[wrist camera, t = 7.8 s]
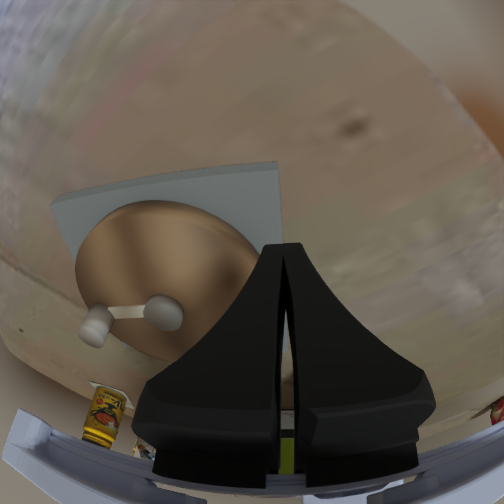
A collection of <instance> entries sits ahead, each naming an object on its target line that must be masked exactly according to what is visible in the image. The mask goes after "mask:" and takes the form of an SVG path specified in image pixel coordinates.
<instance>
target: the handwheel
mask: <svg viewBox="0 0 504 504" xmlns="http://www.w3.org/2000/svg"><path fill="white" fill-rule="evenodd" d="M259 256H260V254H259V253H258V252H257V250H256V249H255V247H254V246H253V245H252V244H251V243H250V242H249V241H248V240H247V239H246V238H245V236H244V235H243V234H241V233H240V232H239V231H238V230H236V229H235V228H234V227H233V226H231V225H230V224H228V223H227V222H225V221H224V220H222V219H220V218H219V217H217V216H215V215H213V214H211V213H209V212H207V211H205V210H203V209H200V208H197V207H194V206H191V205H188V204H184V203H179V202H174V201H165V200H145V201H138V202H133V203H129V204H126V205H124V206H121V207H119V208H117V209H115V210H113V211H112V212H110V213H108V214H107V215H106V216H105V217H104V218H103V219H102V220H100V222H99V223H98V224H97V225H96V226H95V227H94V228H93V229H92V231H91V232H90V233H89V234H88V235H87V236H86V238H85V239H84V241H83V242H82V244H81V246H80V248H79V250H78V253H77V257H76V263H75V274H76V281H77V285H78V288H79V291H80V293H81V296H82V298H83V300H84V302H85V304H86V305H87V307H88V308H89V312H88V313H87V315H86V317H85V319H84V321H83V322H82V324H81V326H80V328H79V330H78V336H79V337H80V339H81V340H82V341H84V342H85V343H86V344H88V345H90V346H92V347H94V348H101V347H102V346H103V344H104V342H105V340H106V337H107V335H108V333H109V332H110V333H111V334H113V335H114V336H115V337H117V338H118V339H119V340H121V341H122V342H124V343H125V344H127V345H129V346H130V347H132V348H134V349H136V350H138V351H140V352H142V353H145V354H147V355H149V356H152V357H155V358H158V359H161V360H165V361H168V362H173V363H174V362H175V361H176V360H178V359H179V358H180V357H181V356H182V355H183V354H185V353H186V352H187V351H188V350H189V349H190V348H191V347H193V346H194V345H195V344H196V343H197V342H198V341H199V340H200V339H201V338H202V337H203V336H204V335H205V334H206V333H207V332H208V331H209V330H210V329H211V328H212V327H213V326H214V325H215V324H216V322H217V321H218V320H219V319H220V318H221V317H222V315H223V314H224V313H225V312H226V311H227V309H228V308H229V307H230V305H231V304H232V303H233V301H234V300H235V298H236V297H237V295H238V294H239V292H240V291H241V289H242V288H243V286H244V285H245V283H246V281H247V280H248V278H249V276H250V274H251V273H252V271H253V269H254V267H255V265H256V263H257V261H258V259H259Z"/></svg>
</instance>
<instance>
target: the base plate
mask: <svg viewBox="0 0 504 504" xmlns="http://www.w3.org/2000/svg"><path fill="white" fill-rule="evenodd" d="M145 200H165V201H174V202H179V203H184V204H188V205H191V206H194V207H197V208H200V209H203V210H205V211H207V212H209V213H211V214H213V215H215V216H217V217H219V218H220V219H222V220H224V221H225V222H227V223H228V224H230V225H231V226H233V227H234V228H235V229H236V230H238V231H239V232H240V233H241V234H243V235H244V236H245V238H246V239H247V240H248V241H249V242H250V243H251V244H252V245H253V246H254V247H255V249H256V250H257V252H258V253H259V254H261V251H262V248H263V247H264V246H265V245H266V244H282V243H283V230H282V214H281V200H280V186H279V173H278V161H276V162H262V163H250V164H239V165H229V166H219V167H211V168H202V169H195V170H187V171H180V172H173V173H167V174H160V175H154V176H148V177H143V178H137V179H132V180H126V181H121V182H116V183H111V184H106V185H102V186H97V187H92V188H88V189H84V190H79V191H75V192H71V193H67V194H63V195H60V196H59V197H58V198H56V199H55V200H54V201H53V202H52V203H50V204H49V206H50V208H51V211H52V213H53V215H54V218H55V220H56V223H57V225H58V227H59V230H60V232H61V234H62V236H63V239H64V241H65V243H66V245H67V247H68V249H69V251H70V254H71V256H72V258H73V260H74V262H75V263H76V257H77V253H78V250H79V248H80V246H81V244H82V242H83V241H84V239H85V238H86V236H87V235H88V234H89V233H90V232H91V231H92V229H93V228H94V227H95V226H96V225H97V224H98V223H99V222H100V220H102V219H103V218H104V217H105V216H106V215H107V214H108V213H110V212H112V211H113V210H115V209H117V208H119V207H121V206H124V205H126V204H129V203H133V202H138V201H145ZM121 342H122V341H121ZM122 343H123V345H124V346H125V347H127V348H132V347H130V346H129V345H127V344H125V343H124V342H122ZM283 352H288V338H287V315H286V313H285V326H284V338H283V350H282V353H283Z"/></svg>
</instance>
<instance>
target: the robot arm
mask: <svg viewBox="0 0 504 504" xmlns="http://www.w3.org/2000/svg"><path fill="white" fill-rule="evenodd" d="M285 313H286V315H287V322H288V330H289V337H290V345H291V352H292V360H293V378H294V474H279V469H280V468H281V362H282V350H283V338H284V326H285ZM435 408H436V401H435V398H434V394H433V391H432V388H431V386H430V383H429V381H428V379H427V377H426V374H425V372H424V371H423V370H422V369H420V368H419V367H417V366H416V365H414V364H413V363H411V362H409V361H408V360H406V359H405V358H403V357H402V356H400V355H399V354H397V353H396V352H394V351H393V350H392V349H390V348H389V347H388V346H386V345H385V344H384V343H383V342H381V341H380V340H379V339H378V338H377V337H376V336H375V335H373V334H372V333H371V332H370V331H369V330H368V329H366V328H365V327H364V326H363V325H362V324H361V323H360V322H359V321H358V320H357V319H356V318H355V317H354V316H353V315H352V314H351V313H350V312H349V311H348V310H347V309H346V308H345V307H344V306H343V304H342V303H341V302H340V301H339V300H338V299H337V297H336V296H335V295H334V294H333V293H332V291H331V290H330V289H329V287H328V286H327V285H326V283H325V282H324V281H323V279H322V278H321V276H320V275H319V273H318V272H317V271H316V269H315V267H314V266H313V264H312V263H311V261H310V259H309V258H308V256H307V254H306V252H305V250H304V248H303V245H302V244H301V243H282V244H266V245H265V246H264V247H263V248H262V251H261V254H260V256H259V259H258V261H257V263H256V265H255V267H254V269H253V271H252V273H251V274H250V276H249V278H248V280H247V281H246V283H245V285H244V286H243V288H242V289H241V291H240V292H239V294H238V295H237V297H236V298H235V300H234V301H233V303H232V304H231V305H230V307H229V308H228V309H227V311H226V312H225V313H224V314H223V315H222V317H221V318H220V319H219V320H218V321H217V322H216V324H215V325H214V326H213V327H212V328H211V329H210V330H209V331H208V332H207V333H206V334H205V335H204V336H203V337H202V338H201V339H200V340H199V341H198V342H197V343H196V344H195V345H194V346H193V347H191V348H190V349H189V350H188V351H187V352H186V353H185V354H183V355H182V356H181V357H180V358H179V359H178V360H176V361H175V362H174V363H173V364H171V365H170V366H168V367H167V368H166V369H164V370H163V371H161V372H160V373H159V374H157V375H156V376H154V377H153V378H152V379H150V380H148V381H147V382H146V384H145V387H144V389H143V391H142V393H141V396H140V398H139V401H138V404H137V408H136V411H135V415H134V418H133V422H132V425H131V427H132V430H133V432H134V433H135V434H136V435H137V436H138V437H139V438H141V439H142V440H144V441H145V442H146V443H148V444H149V445H151V446H152V447H154V448H155V449H156V454H155V459H154V461H150V460H145V459H141V458H137V457H133V456H130V455H126V454H122V453H119V452H115V451H112V450H109V449H106V448H103V447H100V446H97V445H94V444H91V443H89V442H86V441H83V440H81V439H78V438H76V437H73V436H71V435H68V434H66V433H63V432H61V431H59V430H56V429H54V428H52V427H51V426H50V425H49V424H48V423H46V422H45V421H44V420H42V419H40V418H39V417H37V416H35V415H33V414H31V413H29V412H27V411H26V410H24V409H22V408H19V409H18V412H17V414H16V417H15V419H14V422H13V424H12V427H11V430H10V433H9V435H8V438H7V441H6V444H5V447H4V450H3V454H2V459H3V460H4V461H5V462H7V463H8V464H9V465H10V466H12V467H13V468H14V469H16V470H17V471H18V472H20V473H21V474H22V475H23V476H25V477H26V478H27V479H29V480H30V481H31V482H32V483H33V484H35V485H36V486H37V487H39V488H40V489H41V490H42V491H44V492H45V493H46V494H48V495H49V496H50V497H52V498H53V499H54V500H56V501H57V502H59V503H60V504H207V501H206V500H205V499H201V498H196V497H192V496H188V495H186V494H183V493H178V492H174V491H170V490H165V489H161V488H158V487H157V486H156V484H155V483H154V482H157V483H161V484H166V485H170V486H176V487H180V488H186V489H192V490H199V491H206V492H213V493H222V494H234V495H248V496H300V497H301V503H302V504H493V503H495V502H496V501H497V500H499V499H500V498H502V497H503V496H504V420H502V421H500V422H498V423H497V424H494V425H492V426H490V427H489V428H486V429H484V430H482V431H480V432H478V433H475V434H473V435H471V436H468V437H466V438H463V439H461V440H458V441H455V442H453V443H450V444H448V445H445V446H442V447H439V448H436V449H433V450H430V451H427V452H423V453H420V454H417V448H416V442H417V441H418V440H419V434H418V429H417V428H418V427H419V426H420V425H421V424H422V423H423V422H424V421H425V420H426V419H427V418H428V417H430V415H431V414H432V413H433V412H434V410H435ZM416 475H417V477H416V478H415V479H414V481H411V482H408V483H405V484H403V479H406V478H409V477H412V476H416ZM152 481H153V482H152Z"/></svg>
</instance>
